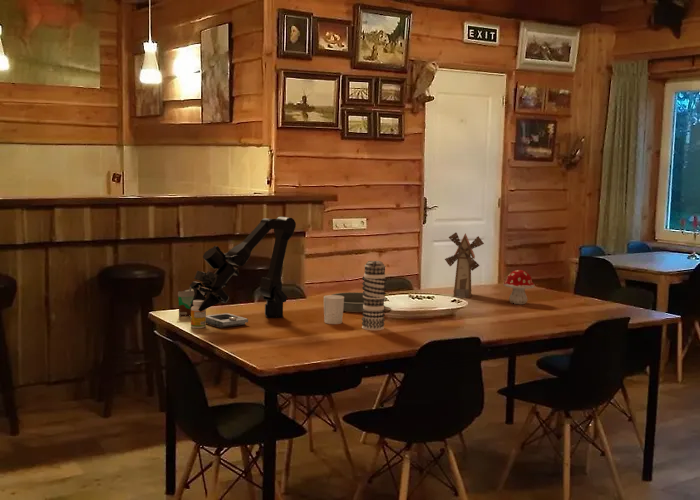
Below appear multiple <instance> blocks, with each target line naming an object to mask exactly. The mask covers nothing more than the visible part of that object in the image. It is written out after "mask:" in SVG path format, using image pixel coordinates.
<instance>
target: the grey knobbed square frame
mask: <svg viewBox="0 0 700 500" xmlns="http://www.w3.org/2000/svg"><path fill="white" fill-rule="evenodd" d="M248 322H249V318H246V317H244V316H239V315H236V314H233V313H229V312H223V313H215V314H206V325H210V326H213V327H216V328H219V329H223V328H230V327H235V326H243V325H246V323H248Z"/></svg>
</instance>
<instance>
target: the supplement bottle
mask: <svg viewBox="0 0 700 500" xmlns="http://www.w3.org/2000/svg"><path fill="white" fill-rule="evenodd" d="M203 301H204V300H193V305H194V306H192V307H191V316H190V327H191V328H193V329H204V328H206V325H207V324H206V315H207V309H205V310H203V311H201V312H200V311H199V310H198V309H199V308H200V306H201V304H202V303H203Z"/></svg>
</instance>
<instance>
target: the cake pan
mask: <svg viewBox="0 0 700 500" xmlns="http://www.w3.org/2000/svg"><path fill="white" fill-rule="evenodd" d="M362 293H363V292H338V293H333V294H331V295H339V296H343V297H344V308H343V312H350V313H364V312H363V311H362V309H363V304H364V297H363V294H362ZM386 301H387V298H386V297H385V298H384V302H386Z"/></svg>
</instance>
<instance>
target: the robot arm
mask: <svg viewBox="0 0 700 500" xmlns="http://www.w3.org/2000/svg"><path fill="white" fill-rule="evenodd" d="M296 225H297V223H296V221H295V219H294V218H293V217H288V216H278V217H277V218H262V219H261V220H260V222H259V223H258V224H257V225H256V227H254V229H252V231H251V232H250V233H249V234H248V235H247V236H246V237H245V238H244V239H243V241H242V242H240V243H239V244H236V245H235V246H233V247H232V248H231V249H229V250H228V251H227V252H223V251H222V250H221V248H220V247H219V246H218V245H214V246H213V247H211V248H209V249H208V250H206V251H205V252H204V253H203V255H202V258H203V260H204V261H205V262H206V263H207V264H208V265H209V266H210V267H211V268H212V269H213V270H215V269H216V271H214V272H211V271H207V272H204V271H201V270H197V271H196V272H195V273H196V274H195V275H194V278H193V279H194V280H198V281H192V282H191V283H190V284H189V288H190V287H191V288H192V289H193V290H194V293H195V294H194V298H193V300H204V301H203V303H202V304H201V306H200V308H199V309H198V310H199V311H200V312H201V311H203V310H205V309H206V310H207V309H209V308H211V307H213V306H215V305H217V304H220V303H225V304H227V302H228V301H229V299H230V295H229V294H228V293H227V292H226V291H225V290H224V289H223V288H224V287H228V284H227V283H228V281H229V280H230V279H231V278H232V276H237V277H239V276H240V271H239V268H237V267H235V266H238V267H243V266H244V265H246V263H247V262H248V261H249V259H250V257H251V254H252V251H253V249H255V248H256V246H257V245H258V244H260V242H261V241H262V240H263V239H264V238H265V237H266V235H267V234H268V233H269V232H270V231H271V230H273V233H274V237H275V238H274V245H273V250H272V254H271V259H270V263H269V268H268V272H267V275H266V276H265V277H263V276H262V277H261V278H260V284H259V286H258V288H259V293H260V294H261V295H262V298H263V301H264V300H265V301H266V302H265V303H264V316H265V317H266V318H269V319H271V318H273V319H275V318H279V319H280V318H284V303H286V302H287V299H288V296H287V295H286V293H284V291H283V290H282V289H283V282H282V278H281V274H282V270H283V265H284V259H285V255H286V253H287V252H286V251H287V246H288V242H289V240H290V238H292V236H294V233H295V230H296V227H297V226H296ZM199 281H200V282H199ZM193 300H192V303H191V306H190V308H191V307H192V306H194V305H193Z"/></svg>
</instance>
